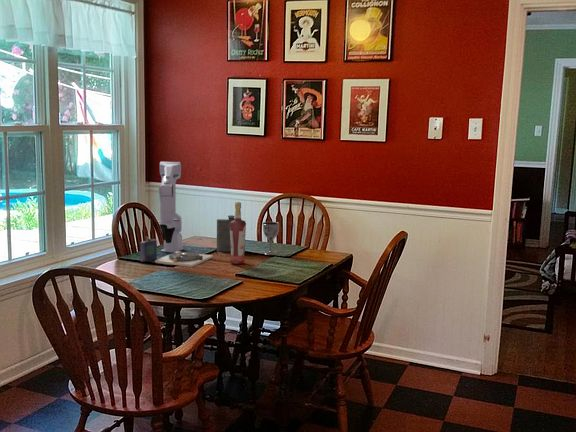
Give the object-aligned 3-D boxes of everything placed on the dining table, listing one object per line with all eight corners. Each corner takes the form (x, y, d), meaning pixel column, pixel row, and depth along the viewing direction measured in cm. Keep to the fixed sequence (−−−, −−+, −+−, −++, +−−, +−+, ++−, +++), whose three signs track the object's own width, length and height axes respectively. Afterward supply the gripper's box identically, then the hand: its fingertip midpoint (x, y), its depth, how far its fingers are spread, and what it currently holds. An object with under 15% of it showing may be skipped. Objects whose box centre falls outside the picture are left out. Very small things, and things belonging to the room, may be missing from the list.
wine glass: (279, 251, 303) (280, 222, 300) (277, 255, 295) (278, 224, 292) (263, 251, 303) (264, 221, 301) (261, 254, 296) (261, 224, 293)
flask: (218, 249, 304) (218, 214, 301) (245, 251, 301) (246, 215, 298) (215, 251, 300) (216, 215, 297) (243, 253, 298) (244, 217, 295)
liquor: (243, 266, 273) (243, 204, 268) (227, 265, 274) (227, 203, 269) (247, 262, 280) (248, 202, 275) (232, 261, 281) (232, 201, 276)
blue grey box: (143, 262, 276) (142, 238, 274) (138, 261, 277) (138, 238, 275) (158, 258, 283) (157, 235, 281) (153, 257, 285) (153, 235, 283)
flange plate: (178, 252, 290) (178, 244, 289) (205, 255, 285) (205, 247, 285) (160, 259, 275) (160, 251, 274) (188, 263, 270) (188, 254, 270)
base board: (177, 253, 294) (177, 248, 293) (212, 257, 288) (212, 252, 287) (154, 262, 275) (154, 256, 275) (192, 267, 269) (192, 261, 269)
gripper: (155, 209, 274) (155, 238, 277) (160, 214, 261) (160, 245, 263) (171, 208, 277) (171, 237, 279) (176, 213, 263) (177, 244, 266)
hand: (167, 241), depth 271 cm, fingers open, 6 cm apart
